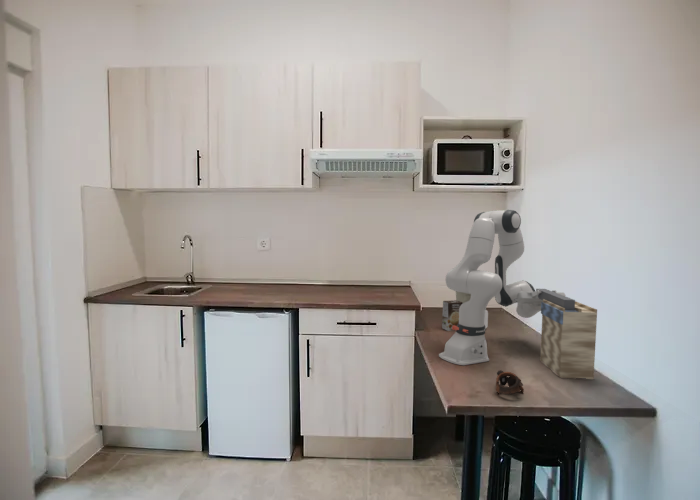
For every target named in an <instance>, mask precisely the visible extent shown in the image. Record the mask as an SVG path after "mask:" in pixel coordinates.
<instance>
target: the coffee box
mask: <svg viewBox="0 0 700 500" xmlns="http://www.w3.org/2000/svg"><path fill="white" fill-rule="evenodd" d="M462 304H463V302H460V301H457V300H456V299H454V300H443V301H442V320H441V328H442V329H443V330H445V331H447V332H451V331H453V332H454V331H455V332H456V330H453V329H452V326H453V325H455V326H457V325H458V323H459V308H460V306H461V305H462Z"/></svg>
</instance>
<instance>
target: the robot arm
mask: <svg viewBox="0 0 700 500" xmlns="http://www.w3.org/2000/svg"><path fill="white" fill-rule="evenodd" d="M521 223H522V219H521V216H520V214H519V213H518V212H517V211H516V210H513V209H504V210H503V209H500V210H496V209H495V210H490V211H483V212H480V213H478V214H476V215H475V216H474V219H473V224H472V227H471V229H470V232H469V234H468V235H469V236H468V240H467V245H466V248H465V252H464V255H463V257H462V258H461V260H460V262H459V263H458V264H457V265H456V266H454V267H453V268H451V269H450V270H448V272H447V273H446V274H445V285H446V287H447V288H448V289H449V290H452V291H454V292H456V291H457V292H462V293H468V294H471V298H470V300H469V301H467V302H465V303H463V304H462V305H461V306H460V308H459V323H458V325H457V326H455V325H453V326H452V329H453V330H455V332H454V333H453V335H452V336H451V337H450V338H449V339H448V340H447V341H446V343H445V345H444V351H442V352H440V353H438V357H439V358H440V359H442V360H444V361H446V362H448V363H451V364H454V365H460V366H467V365H472V364H478V363H484V362H489V361H490V358H489V356H488V347H487V346H488V345H487V340H486V337H485V334H486V329H487V328H485V325H484V321H485V310H487V306H488V304H489V303H490V301H491V300H492V299H495V301H496V303H497V304H498V305H500V306H503V307H509V306H512V305H513V304H517V305H516V308H515V310H516V314H517V315H518V316H520V317H521V318H523V319H528V318H532V317H534V316H536V315H537V314H538V313H539V312H541V302H543V300H541V299H539V298H538V295H541V294H542V292H541V290H537V291H536V288H534V286H533V285H532V284H531V283H530V282H528V281H526V280H524V279H523V280H519V281H516V282H513V283H510V284H507V270H508V268H509V267H510V266H511V265H512V264H514V262H516V261H518V260H519V259H520V258H521V257H522V255H523V254H524V252H525V241H524V237H523V234H522V231H521V228H520V227H521ZM495 235H497V238H498V245H499V247H498V248H499V249H498V250H499V251H498V253H497V256H496V257H495V260H494V272H491V271H487V270H481V269H479V267H480V266H482V265H483V264H486V263H488V262H489V261H490V259H491V258H492V252H493V248H494V243H495V237H496V236H495ZM478 269H479V270H478ZM551 291H552V292H555V293H558V294H560V295H563V296H565V297H567V296H566V294H565V292H558V291H557V290H551Z"/></svg>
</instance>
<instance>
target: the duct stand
mask: <svg viewBox="0 0 700 500" xmlns="http://www.w3.org/2000/svg"><path fill="white" fill-rule="evenodd" d="M540 314H541V338H540V355H539V356H540V358H539V359H540V360H539V361H540V362H541V363H542V364H543V365H544V366H546V367H547V368H548V369H549V370H550V371H552V372H553V373H554V374H556V376H558V378H561V379H576V378H586V379H585V380H594V377H595V360H596V359H595V358H596V357H595V356H596V342H597V341H596V340H597V321H598V309H596V308H594V307H592V306H589V305H587V304H585V303H582V302H578V301H577V300H575V310H565V308H563V307H560V306H558V305H556V304H554V303H551V302H549V301H547V300H545V299H543V302H541V311H540Z"/></svg>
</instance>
